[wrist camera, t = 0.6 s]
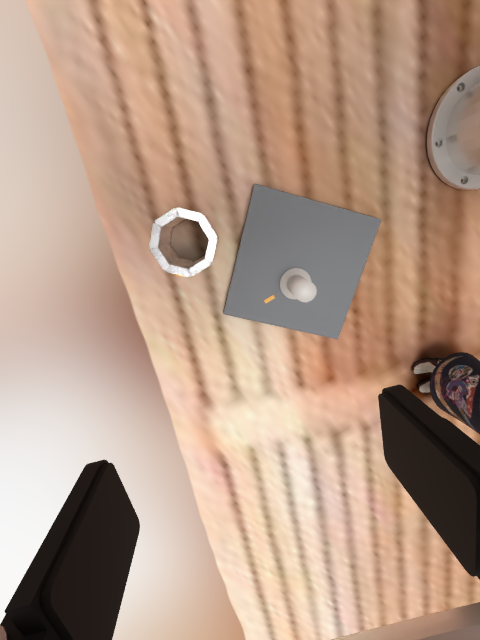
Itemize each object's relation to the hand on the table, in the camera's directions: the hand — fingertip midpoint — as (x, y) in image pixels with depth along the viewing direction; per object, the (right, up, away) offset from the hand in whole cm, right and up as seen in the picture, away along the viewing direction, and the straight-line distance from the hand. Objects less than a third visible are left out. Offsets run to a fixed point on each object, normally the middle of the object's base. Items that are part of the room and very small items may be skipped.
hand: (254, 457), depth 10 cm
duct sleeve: (-7, +15, +26) cm, 30 cm away
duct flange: (+7, +12, +28) cm, 31 cm away
